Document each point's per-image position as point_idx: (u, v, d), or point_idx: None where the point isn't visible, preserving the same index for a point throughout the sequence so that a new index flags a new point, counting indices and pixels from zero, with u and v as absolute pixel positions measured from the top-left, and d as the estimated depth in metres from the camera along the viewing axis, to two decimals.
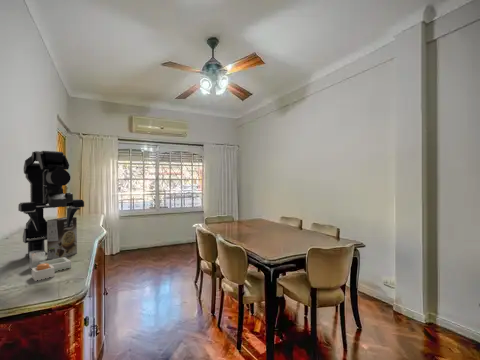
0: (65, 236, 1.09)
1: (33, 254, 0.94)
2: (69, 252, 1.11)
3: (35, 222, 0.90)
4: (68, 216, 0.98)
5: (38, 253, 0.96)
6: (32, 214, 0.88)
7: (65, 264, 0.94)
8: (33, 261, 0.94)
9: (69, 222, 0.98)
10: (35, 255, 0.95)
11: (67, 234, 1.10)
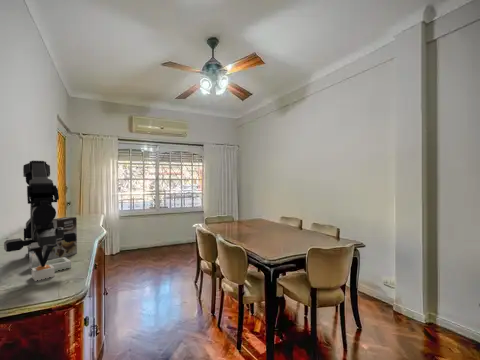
0: None
1: (33, 254, 0.94)
2: (69, 252, 1.11)
3: (40, 258, 0.86)
4: (44, 254, 0.87)
5: None
6: (36, 250, 0.84)
7: (65, 264, 0.94)
8: (33, 261, 0.94)
9: (45, 261, 0.87)
10: (35, 255, 0.95)
11: None
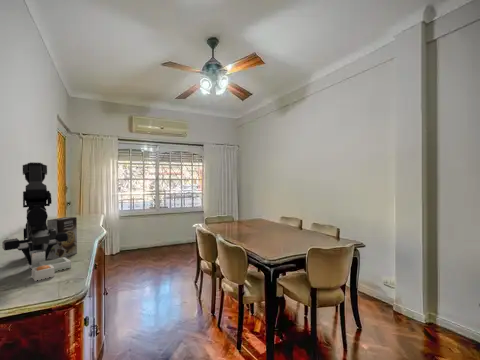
0: None
1: (33, 254, 0.94)
2: (69, 252, 1.11)
3: (27, 257, 0.94)
4: (45, 251, 0.99)
5: (38, 253, 0.96)
6: (24, 250, 0.92)
7: (65, 264, 0.94)
8: (33, 261, 0.94)
9: (45, 257, 0.98)
10: (35, 255, 0.95)
11: None
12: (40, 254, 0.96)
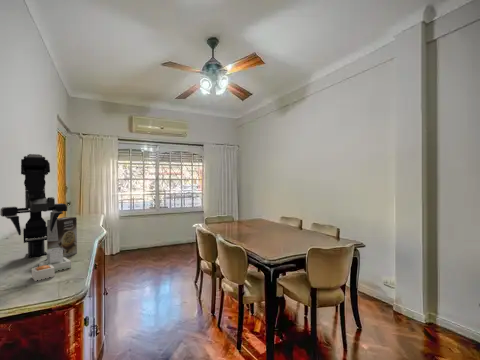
0: (65, 236, 1.09)
1: (51, 252, 0.93)
2: (69, 252, 1.11)
3: (17, 226, 0.91)
4: (51, 220, 0.99)
5: (56, 251, 0.94)
6: (13, 219, 0.89)
7: (65, 264, 0.94)
8: (51, 259, 0.93)
9: (52, 226, 0.99)
10: (53, 253, 0.94)
11: (67, 234, 1.10)
12: (58, 252, 0.95)
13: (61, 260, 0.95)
